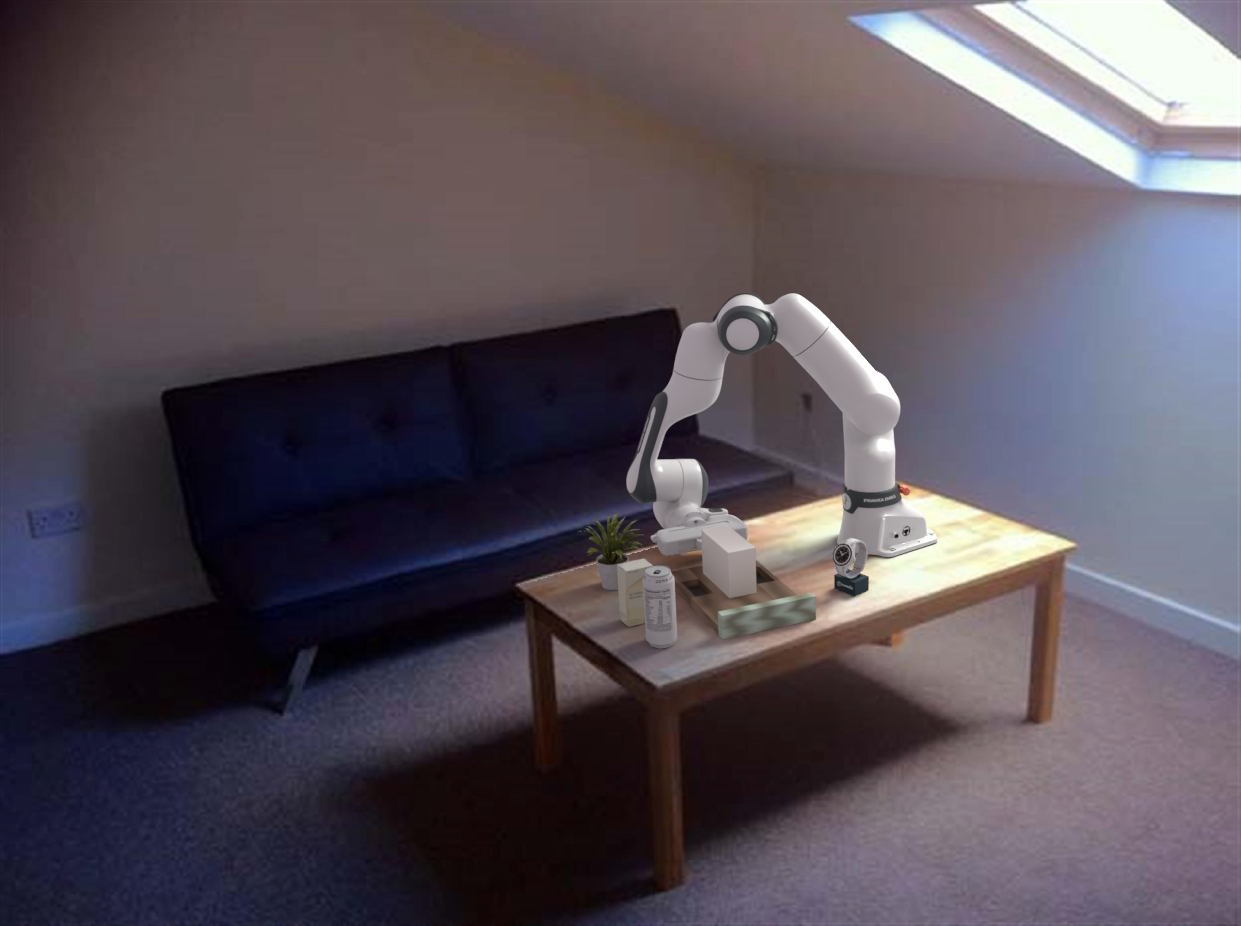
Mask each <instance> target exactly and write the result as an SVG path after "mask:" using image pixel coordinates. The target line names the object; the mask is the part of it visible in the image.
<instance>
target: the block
mask: <svg viewBox="0 0 1241 926" xmlns="http://www.w3.org/2000/svg"><path fill="white" fill-rule="evenodd" d="M701 536H702V551H701V554H702V555H701V556H702V557H701V558H702V565H703V574H704V575H706V576H707V577H708V578H709V579H710V580H711V581H712V582H713V583H714V584H715V585H716V586H717V587H718V588H719V589H720V590H721V591H722V592H723V593H724V594H726V595H727V596H728V597H729V598H734V597H739V596H744V595H748V594H753V593H756V561H757V560H756V558H757V557H756V556H757V555H756V554H757V553H756V547H755V546H754V545H753V544H752V543H751V542H749V541H748V540H745V539H744V538H743V537H742V536H740V535H739V534H738V533H737V532H735V531H734V530H733V529H732V528H730V527H729V526H728V525H724V526H719V527H713V528H708V529H703V530H701Z"/></svg>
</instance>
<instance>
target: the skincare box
mask: <svg viewBox="0 0 1241 926" xmlns="http://www.w3.org/2000/svg"><path fill="white" fill-rule="evenodd" d="M652 566H654V565H653V564H652V563H651V562H650V561H648V560H647V559H646V558H641V559H635V560H629V562H625V563H621V564H617V573H618V590H617V591H618V607H619V620H620V621H621V622H622V623H623V624H625V626H627V627H628V628H630V627H634V626H639V625H643V624H644V625H645V613H644V596H643V577H644V575H645V570H646V569H647V568H649V567H652Z"/></svg>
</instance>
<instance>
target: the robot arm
mask: <svg viewBox="0 0 1241 926" xmlns="http://www.w3.org/2000/svg"><path fill="white" fill-rule="evenodd" d="M775 342H777V343H779V344H780V345H781V346H782V347H783V348H784V349H785V350H786V351H787V352H788V353H789V355H791V356H792V357H793V359H795V360H796V362H797V363H798V364H799V365H800V366H801V367H802V368H803V369H804V370H805V371H806V372H807V373H808V375H810V377H812V378H813V380H814V381H815V382H816V383H817V384H818V385H819V387H820V388H821V389H822V390H823V392H825V394H826V395H827V396H828V397H829V399H830V400H831V401H832V402H833V403H834V405H836V407H837V408H838V409H839V410H840V411H841V412H842V430H843V445H844V449H843V450H844V481H843V483H842V495H841V497H842V500H841V501H842V502H841V503H842V509H843V511H842V518H841V524H840V529H839V533H838V535H837V536H838V537H837V539H836V543H837V545H839V544H841V543H842V542H843V541H845V540H847V539H849V538H854V539H857V540H860V541H863V542H864V543H865V544H866V546H867V554H868V555H873V556H879V557H884V558H894V557H896V556H898V555H901V554H905V553H908V552H911V551H914V550H917V549H922V548H923V547H926V546H929V545H933V544H935V543H937V542H938V536H937V534H936V532H935V531H933V530H932V529H931V528H929V527H928V526H927V520H926V516H925V514H924V513H923V512H922V511H921V510H920V509H919V508H917V507H916V506H915V505H914V504H912V503H911V502H909V501H908V500H906V499H904V498H903V497H902V494H903V495H904V496H907V497H908V496H909V495H910V494H911V493H912V492H911V491H912V489H911V488H910V486H907V485H905V484H902V485H901V484H900V483H898V482H897V481H896V445H895V435H894V434H895V433H894V428H895V427H896V425H897V424H898V422H899V420H900V419H899V418H900V415H901V402H900V399H899V397H898V395H897V393H896V392H895V390H894V388H893V387H892V385H891V383H890V381H889V379H887V377H886V376H885V375H884V374H883V373H881V372H879V371H877V370H875V369H874V367H873V366H872V365H871V364H870V363H869V362H868V361H867V359H866V358H865V357H864V356H863V355H862V353H861V352H860V351H859V350H858V349H857V348H856V347H855V345H854V344H853V343H852V342H851V341H850V340H849V339H848V337H846V336H845V334H843V332H842V331H841V330H840V329H839V328H838V327H837V326H836V325H835V324H834V323H833V322H832V321H831V320H830V319H829V318H828V316H827V315H825V314H824V313H823V312H822V310H820V309H819V308H818V307H817V306H816V305H814V304H813V303H812V302H811V301H809V300H808V299H807V298H805V297H804V296H802V295H800V294H798V293H792V292H791V293H787V294H785V295H782V296H780V297H779V298H778V299H777V300H775V302H773V303H769V304H766V302H765V301H764V300H763V298H761V297H760V296H759V295H757V294H755V293H752V292H747V291H746V292H739V293H736V294H734V295H731V296H730V298H728V299H727V300H726V301H725V302H724V303H723V305H722V306H721V307H720V309H718V311H717V312H716V313H715V315H714V316H713V318H712V322H704V321H703V322H695V323H692V324H690V325H688V326H686V327H685V329H684V330H683V332H682V335H681V338H680V340H679V343H678V346H677V351H676V353H675V358H674V359H675V360H674V365H673V369H672V375H671V377H670V379H669V382H668V384H667V385H666V386H665V388H664V389H663V390H662V391H660V392H659V393H658V394H656V395H655V396H654V399H653V401H652V403H651V406H650V408H649V411H648V414H647V416H646V421H645V423H644V426H643V430H642V433H641V436H640V439H639V442H638V445H637V448H636V452H635V455H634V457H633V459H632V462H631V463H630V465H629V467H628V470H627V473H626V478H625V479H626V483H625V484H626V491H627V492H628V494H629V495H630V496H631V497H632V498H633V500H635V501H636V502H637V503H639V504H651V503H652V509H653V515H654V517H655V519H656V520H657V522H658V524H659V525H660V526H661V527H662V528H663V529H659V530H658V531H657V532H655V533H654V534H652V535H651V536H650V540H651V541H652V543H655V544H657V545H656V546H657V548H658V550H659V552H660V554H661V555H663V556H666V557H668V556H669V557H670V556H674V555H675V556H676V555H680V554H685V553H691V552H696V551H701V552H702V536H701V530H703V529H708V528H713V527H719V526H724V525H728V526H729V527H730V528H732V529H733V530H734V531H735V532H737V533H738V534H739V535H740V536H742V537H743V538H744V539H745V540H746V541H748V537H749V536H748V533H749V531H748V526H747V524H746V523H745V522H744V521H743V520H742V519H740V518H738V517H737V516H735V515H733V514H729V510H727V509H726V508H705V507H703V505H704V503H705V501H706V499H707V497H708V493H709V476H708V474H707V472H706V470H705V468H704V466H703V465H702V464H701V462H699V461H698V460H697V459H696V458H675V459H670V458H669V459H658V457H659V455H660V454H659V453H660V451H661V448H662V445H663V441H664V439H665V435H666V433H667V431H668V430H669V428H670V427H671V426H672V425H674V424H675V423H677V422H680V421H681V420H683V419H685V418H688V417H691V416H693V415H695V414H700V413H701V412H703V411H705V410H708V408H710V407H711V406H712V405H714V403H715V402H716V401H717V399H718V397H719V396H720V393H721V390H722V384H723V377H724V371H725V364H726V361H727V357H728V355H729V354H730V353H732V354H733V355H737V356H747V355H752V354H754V353H756V352H758V351H760V350H762V349H764V348H766V347H768V346H771V345H773V344H774V343H775ZM855 545H856V548H855V554H857V552H859V546H858V543H856V544H855Z"/></svg>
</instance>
